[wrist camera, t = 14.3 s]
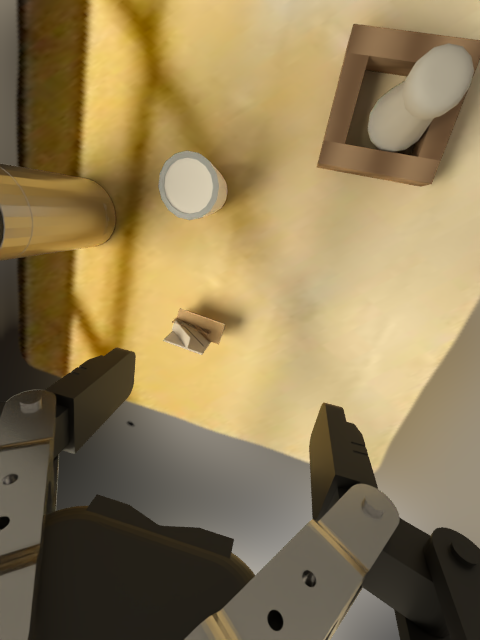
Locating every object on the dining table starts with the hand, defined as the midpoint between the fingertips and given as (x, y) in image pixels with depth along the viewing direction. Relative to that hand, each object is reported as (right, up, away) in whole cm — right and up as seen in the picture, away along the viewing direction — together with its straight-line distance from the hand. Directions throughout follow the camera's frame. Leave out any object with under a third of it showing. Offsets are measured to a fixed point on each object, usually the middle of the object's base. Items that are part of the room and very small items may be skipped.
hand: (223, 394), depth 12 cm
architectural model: (-5, +3, +33) cm, 34 cm away
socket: (+17, +25, +20) cm, 36 cm away
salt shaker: (+17, +24, +21) cm, 36 cm away
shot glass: (-4, +20, +26) cm, 33 cm away
